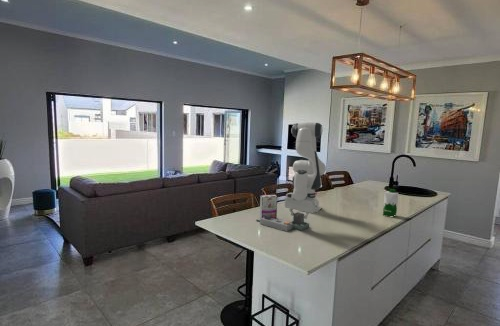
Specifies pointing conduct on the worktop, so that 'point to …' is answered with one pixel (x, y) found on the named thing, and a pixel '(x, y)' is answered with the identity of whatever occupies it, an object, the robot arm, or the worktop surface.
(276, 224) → the power strip
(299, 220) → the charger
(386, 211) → the milk carton
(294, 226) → the felt tray
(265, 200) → the candy bar box
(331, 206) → the worktop surface
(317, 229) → the worktop surface
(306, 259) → the worktop surface
